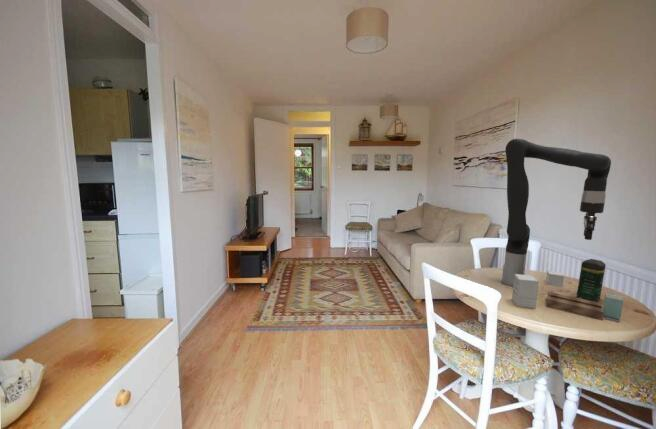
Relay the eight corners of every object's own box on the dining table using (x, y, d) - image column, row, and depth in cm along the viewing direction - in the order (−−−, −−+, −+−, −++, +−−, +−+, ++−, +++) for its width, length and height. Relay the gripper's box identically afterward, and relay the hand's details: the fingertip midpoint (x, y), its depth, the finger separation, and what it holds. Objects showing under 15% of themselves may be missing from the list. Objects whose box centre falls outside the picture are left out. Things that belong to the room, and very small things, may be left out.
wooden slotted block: (545, 306, 124) (546, 298, 123) (547, 298, 132) (547, 291, 131) (602, 320, 113) (603, 311, 112) (599, 310, 121) (601, 302, 120)
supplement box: (529, 301, 128) (533, 275, 127) (535, 309, 122) (539, 281, 120) (511, 299, 131) (514, 273, 129) (516, 306, 124) (519, 278, 122)
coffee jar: (596, 303, 127) (603, 264, 124) (574, 297, 133) (579, 259, 131) (602, 298, 133) (608, 260, 130) (580, 292, 139) (585, 256, 136)
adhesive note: (562, 286, 146) (563, 275, 145) (548, 284, 149) (549, 273, 148) (559, 283, 152) (561, 272, 151) (545, 280, 154) (547, 270, 153)
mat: (603, 318, 114) (603, 318, 114) (602, 313, 119) (602, 312, 119) (619, 322, 111) (619, 321, 111) (617, 316, 116) (617, 316, 116)
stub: (602, 315, 116) (606, 294, 114) (602, 313, 117) (605, 293, 116) (620, 319, 112) (623, 298, 111) (619, 317, 114) (623, 296, 112)
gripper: (580, 199, 130) (575, 234, 132) (581, 201, 119) (576, 239, 121) (602, 200, 125) (597, 236, 127) (606, 203, 114) (600, 242, 116)
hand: (587, 237), depth 124 cm, fingers open, 8 cm apart
